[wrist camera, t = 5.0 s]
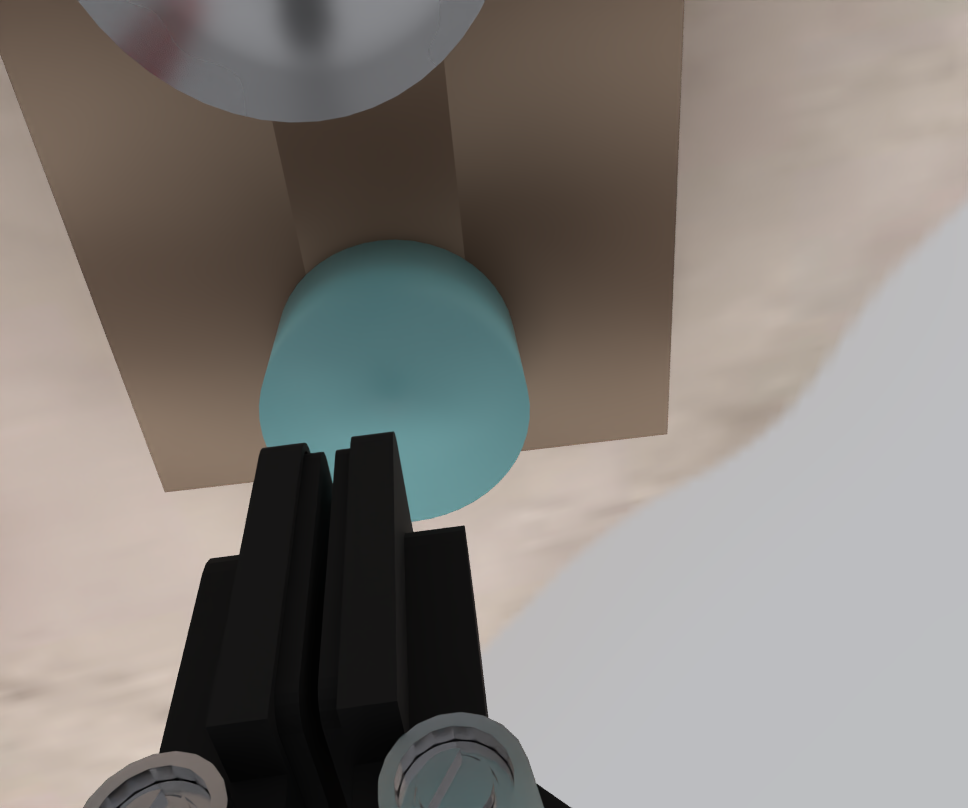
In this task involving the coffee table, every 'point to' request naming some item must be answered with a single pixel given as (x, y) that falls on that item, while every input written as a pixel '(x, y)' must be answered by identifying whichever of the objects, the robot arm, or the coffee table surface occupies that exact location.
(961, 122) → the coffee table surface
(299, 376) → the teal knob
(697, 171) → the coffee table surface
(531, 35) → the walnut mount
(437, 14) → the steel knob middle
